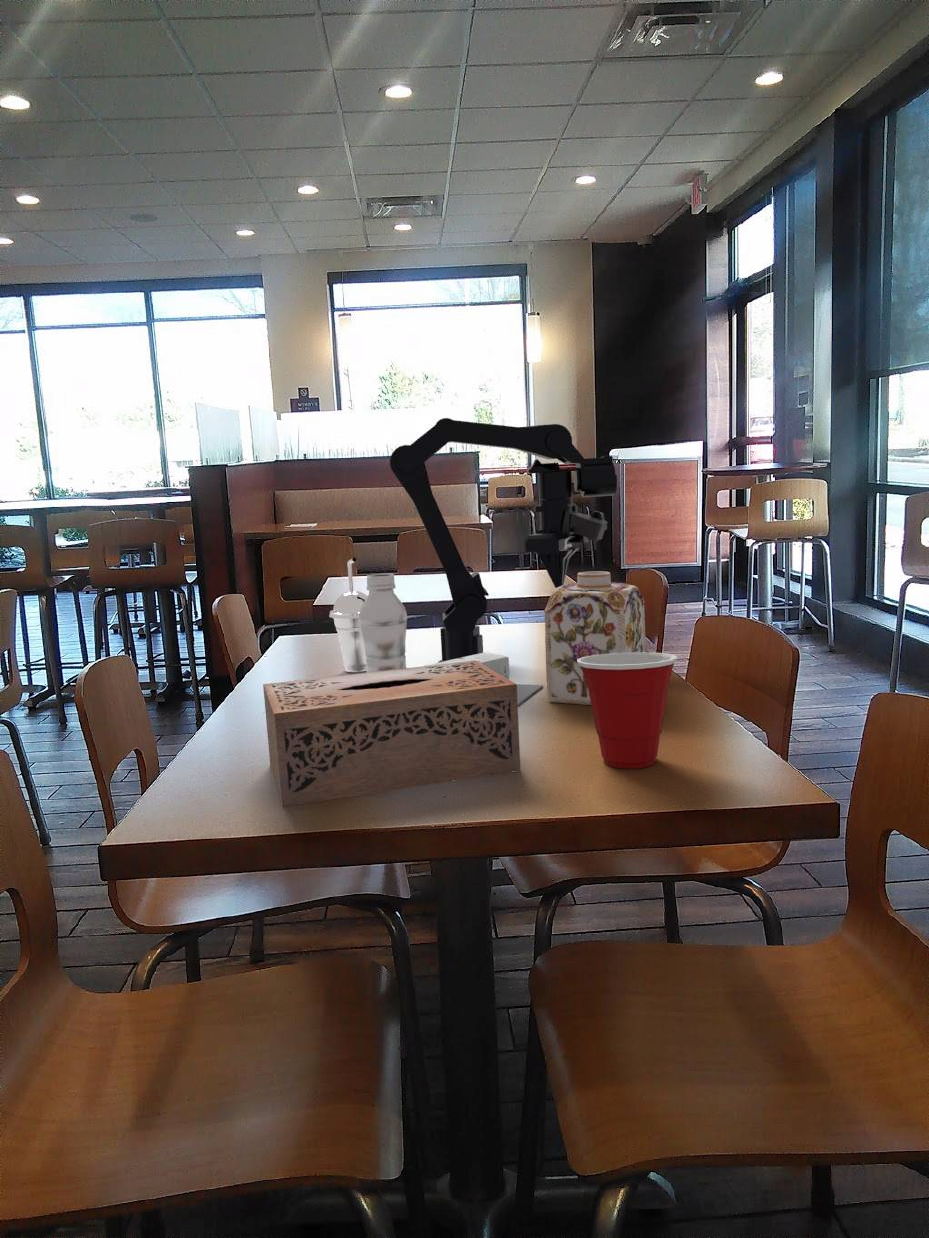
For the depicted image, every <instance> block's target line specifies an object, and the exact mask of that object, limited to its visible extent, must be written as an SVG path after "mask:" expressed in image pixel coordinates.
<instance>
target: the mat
mask: <svg viewBox="0 0 929 1238" xmlns="http://www.w3.org/2000/svg"><path fill="white" fill-rule="evenodd" d="M516 684H517V700H518V707H519V706H521V705H522V704H523V703H524V702H526V701H527V700H528V699H529V698H531V697H532V696H534V695H535V694H536V693H538V692H539V691H540V690H541V689H543V688H544V685H543V684H526V683H525V684H523V683H516Z"/></svg>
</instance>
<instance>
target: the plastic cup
mask: <svg viewBox="0 0 929 1238" xmlns="http://www.w3.org/2000/svg"><path fill="white" fill-rule="evenodd" d="M677 660H678V657H677V656H676V655H675V654H671V653H667V652H665V653H664V652H650V651H649V652H629V653H610V654H600V655H593V656H587V657H583V658H580V659H577V662H578V665H579V666H581V669H582V672H583V674H584V678H585V679H586V684H587V688H588V691H589V696H590V701H591V705H590V706H591V710H592V711H591V712H592V715H593V720H594V726H595V730H596V734H597V737H598V742H599V747H600V752H601V756H602V757H601V758H602V759H603V763H604V764H605V765H607V766H609V767H613V768H617V769H625V770H626V769H628V770H629V769H631V770H634V769H635V770H636V769H637V770H638V769H641V768H644V769H645V768H648V767H650V766H652V765H654V763H656V759H657V757H658V752H659V745H660V737H661V734H662V729H663V723H664V716H665V710H666V702H667V697H668V689H669V686H670V682H671V676H672V674H673V673H672V672H673V671H672V670H673V668H674V665H675V663H676V662H677Z"/></svg>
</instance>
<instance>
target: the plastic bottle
mask: <svg viewBox="0 0 929 1238" xmlns="http://www.w3.org/2000/svg"><path fill="white" fill-rule="evenodd" d="M394 575H395V574H394V573H377V574H375V573H374V574H369V575H366V591H368V595H367V596H368V597H367V598H366V600H365V601H364V603H363V605H362V607H361V609H360V612H359V623H360V628H361V633H362V637H363V642H364V648H365V656H366V664H367V671H366V673H369V672H378V671H387V670H396V669H405V668H407V664H406V663H407V661H406V658H407V657H406V651H407V650H406V637H407V624H408V623H407V621H408V614H407V610H406V607H405V605H404V604H403V603H402V601H401V599H400V598H399V597H398V596H397V595H396V594H395V592H394V589H396V583H395V576H394Z"/></svg>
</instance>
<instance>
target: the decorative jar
mask: <svg viewBox="0 0 929 1238" xmlns="http://www.w3.org/2000/svg"><path fill="white" fill-rule="evenodd" d="M576 578H577V581H576V582H573V583H568V584H564V585H563V586H560V587H557V588H554V589H553V590H551V594H550V597H549V599H548V602H547V604H546V606H545V609H544V610H543V612H544V629H545V630H544V631H545V633H544V636H545V637H544V638H545V640H544V641H545V643H544V644H545V671H546V672H545V673H546V674H545V675H546V676H545V677H546V695H547V700H548V702H549V703H554V704H555V703H557V704H567V705H570V704H571V705H581V706H583V705H584V706H591V701H590V696H589V691H588V688H587V684H586V679H585V678H584V674H583V672H582V669H581V666H579V665H578V662H577V659H580V658H583V657H587V656H593V655H600V654H610V653H629V652H646V623H645V622H646V620H645V619H646V618H645V616H646V615H645V603H646V601H645V599H644V598H643V596H642V594H641V592H640V591H641V590H639V588H638V586H636V585H634V584H633V585H632V584H629V583H623V582H612V579H611V578H612V577H611V572H609V571H601V570H598V571H597V570H596V571H595V570H594V571H582V572H580V571H579V572H578V573H577V577H576Z"/></svg>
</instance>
